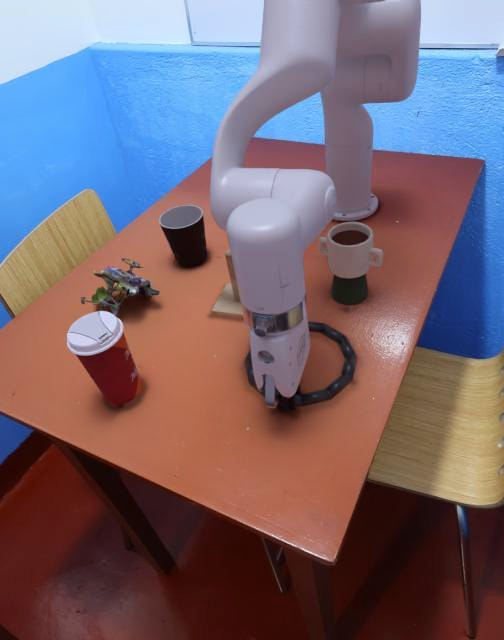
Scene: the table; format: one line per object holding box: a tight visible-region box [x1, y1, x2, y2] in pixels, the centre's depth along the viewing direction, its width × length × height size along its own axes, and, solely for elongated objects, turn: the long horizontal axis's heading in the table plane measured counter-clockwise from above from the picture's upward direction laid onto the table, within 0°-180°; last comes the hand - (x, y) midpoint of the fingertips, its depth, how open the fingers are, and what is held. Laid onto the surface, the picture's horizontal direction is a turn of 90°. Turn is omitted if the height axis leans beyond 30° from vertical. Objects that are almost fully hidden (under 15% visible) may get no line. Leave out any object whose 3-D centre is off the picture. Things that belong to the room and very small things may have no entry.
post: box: [211, 248, 243, 317], centre depth 80 cm, size 8×8×11 cm
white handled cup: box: [318, 221, 384, 306], centre depth 77 cm, size 11×7×13 cm, turn 58°
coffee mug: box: [158, 204, 208, 269], centre depth 94 cm, size 12×9×10 cm
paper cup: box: [66, 310, 143, 408], centre depth 68 cm, size 8×8×14 cm
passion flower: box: [80, 257, 160, 317], centre depth 85 cm, size 11×11×12 cm
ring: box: [243, 320, 358, 408], centre depth 71 cm, size 17×17×2 cm
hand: (287, 401), depth 67 cm, fingers closed on ring, 1 cm apart
